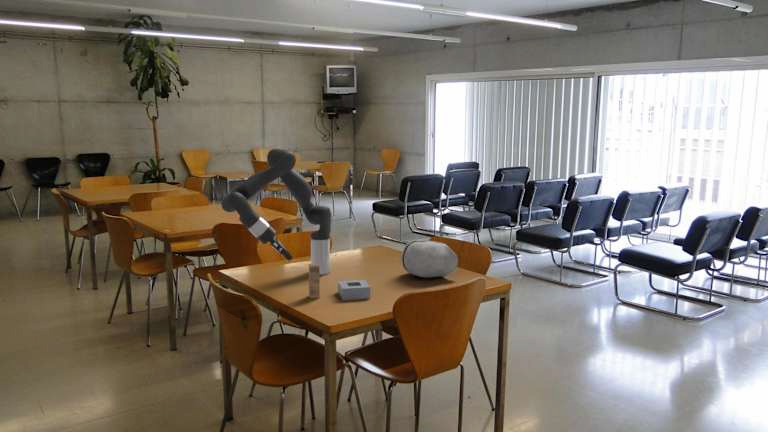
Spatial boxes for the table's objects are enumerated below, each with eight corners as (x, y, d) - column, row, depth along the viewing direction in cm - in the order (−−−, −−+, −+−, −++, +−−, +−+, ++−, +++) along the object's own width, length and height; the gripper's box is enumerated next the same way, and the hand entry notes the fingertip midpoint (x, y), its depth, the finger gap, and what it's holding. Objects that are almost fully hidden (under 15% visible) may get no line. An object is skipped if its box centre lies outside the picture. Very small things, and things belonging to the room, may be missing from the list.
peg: (309, 295, 261) (308, 264, 259) (318, 295, 262) (318, 263, 260) (310, 298, 257) (309, 266, 255) (319, 298, 258) (319, 266, 256)
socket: (337, 292, 267) (337, 281, 266) (364, 290, 270) (364, 279, 269) (342, 300, 255) (342, 288, 255) (370, 298, 258) (370, 287, 257)
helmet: (438, 236, 313) (393, 235, 295) (473, 245, 294) (427, 245, 275) (434, 270, 315) (389, 271, 297) (469, 281, 295) (423, 284, 277)
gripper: (270, 226, 242) (298, 254, 247) (266, 221, 256) (293, 247, 261) (257, 239, 241) (285, 267, 246) (253, 234, 255) (280, 260, 260)
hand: (289, 257), depth 254 cm, fingers open, 8 cm apart
